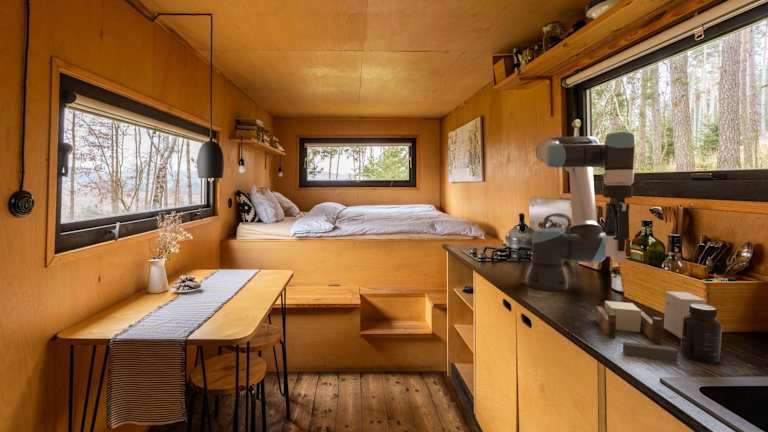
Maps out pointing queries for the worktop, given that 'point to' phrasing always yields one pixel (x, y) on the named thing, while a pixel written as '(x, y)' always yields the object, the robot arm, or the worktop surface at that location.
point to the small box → (678, 310)
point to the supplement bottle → (701, 334)
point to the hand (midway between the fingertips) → (614, 258)
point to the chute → (647, 325)
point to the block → (625, 315)
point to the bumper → (650, 351)
